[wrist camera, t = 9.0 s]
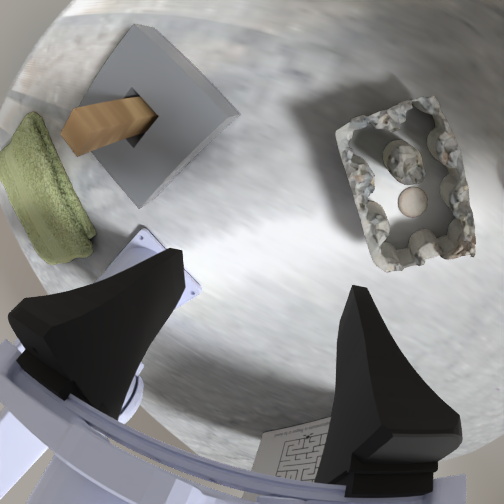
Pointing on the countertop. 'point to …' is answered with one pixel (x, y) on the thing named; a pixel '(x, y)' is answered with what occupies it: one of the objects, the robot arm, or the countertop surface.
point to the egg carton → (410, 188)
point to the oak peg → (106, 123)
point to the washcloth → (44, 195)
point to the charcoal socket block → (157, 112)
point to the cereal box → (291, 452)
